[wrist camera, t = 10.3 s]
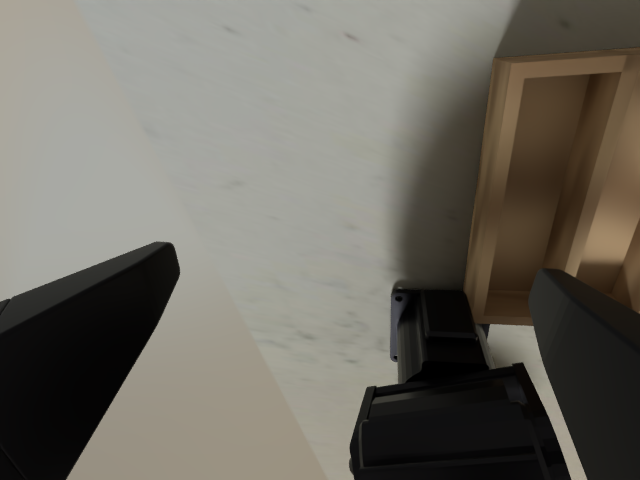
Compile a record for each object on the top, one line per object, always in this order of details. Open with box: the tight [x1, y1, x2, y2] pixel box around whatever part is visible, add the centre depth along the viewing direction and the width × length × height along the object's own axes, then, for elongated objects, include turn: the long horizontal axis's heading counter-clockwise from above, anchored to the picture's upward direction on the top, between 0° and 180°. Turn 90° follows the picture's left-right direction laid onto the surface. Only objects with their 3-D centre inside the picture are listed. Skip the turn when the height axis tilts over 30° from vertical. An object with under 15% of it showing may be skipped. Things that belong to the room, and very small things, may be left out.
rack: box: [463, 47, 640, 326], centre depth 19 cm, size 14×13×3 cm
